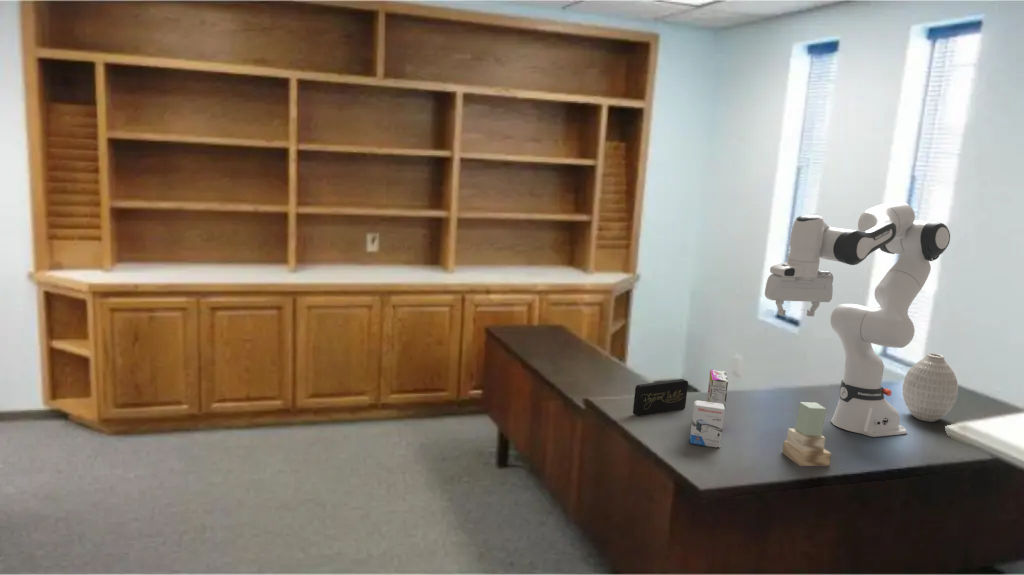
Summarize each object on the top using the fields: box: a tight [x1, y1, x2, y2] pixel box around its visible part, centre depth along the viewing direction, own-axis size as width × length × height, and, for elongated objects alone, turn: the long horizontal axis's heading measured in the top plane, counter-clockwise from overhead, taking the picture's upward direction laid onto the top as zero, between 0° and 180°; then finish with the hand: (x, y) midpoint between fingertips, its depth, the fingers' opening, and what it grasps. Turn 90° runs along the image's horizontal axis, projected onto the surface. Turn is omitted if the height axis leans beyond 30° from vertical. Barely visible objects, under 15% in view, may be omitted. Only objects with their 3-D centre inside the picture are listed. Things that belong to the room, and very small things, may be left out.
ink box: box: [689, 399, 726, 449], centre depth 213 cm, size 9×5×12 cm, turn 77°
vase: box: [902, 352, 959, 423], centre depth 250 cm, size 16×16×22 cm
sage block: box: [795, 401, 827, 436], centre depth 206 cm, size 5×5×8 cm
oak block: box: [781, 440, 832, 467], centre depth 207 cm, size 9×9×4 cm
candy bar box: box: [706, 369, 729, 407], centre depth 228 cm, size 11×5×16 cm, turn 168°
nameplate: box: [632, 378, 689, 417], centre depth 238 cm, size 21×2×10 cm, turn 121°
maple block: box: [786, 427, 826, 452], centre depth 207 cm, size 7×7×4 cm
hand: (795, 315), depth 220 cm, fingers open, 8 cm apart
